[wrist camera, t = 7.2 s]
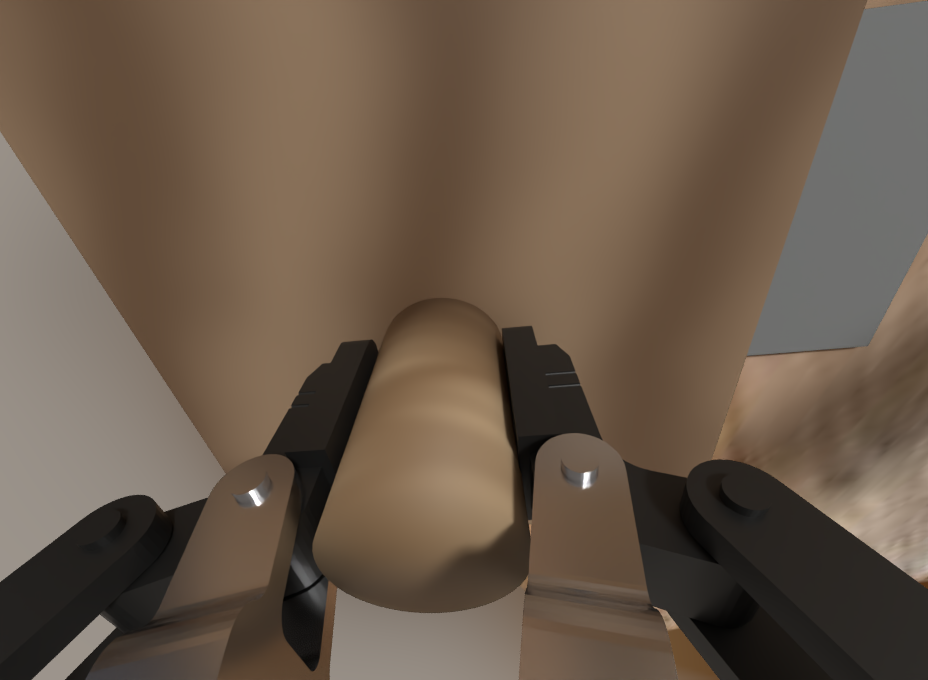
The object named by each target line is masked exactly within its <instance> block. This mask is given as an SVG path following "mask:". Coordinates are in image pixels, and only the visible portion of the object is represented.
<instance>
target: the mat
mask: <svg viewBox="0 0 928 680" xmlns="http://www.w3.org/2000/svg"><path fill="white" fill-rule="evenodd" d="M927 234H928V1H922V2H915V3H908V4H900V5H893V6H886V7H879V8H871V9H864V11H863V14H862V17H861V20H860V23H859V26H858V29H857V32H856V35H855V38H854V41H853V44H852V47H851V50H850V53H849V55H848V58H847V61H846V64H845V67H844V70H843V73H842V76H841V79H840V82H839V85H838V88H837V91H836V94H835V97H834V100H833V103H832V106H831V109H830V112H829V114H828V117H827V120H826V123H825V126H824V129H823V132H822V135H821V138H820V141H819V144H818V147H817V150H816V153H815V156H814V159H813V162H812V165H811V168H810V170H809V173H808V176H807V179H806V182H805V185H804V188H803V191H802V194H801V197H800V200H799V203H798V206H797V209H796V212H795V215H794V218H793V221H792V224H791V227H790V229H789V232H788V235H787V238H786V241H785V244H784V247H783V250H782V253H781V256H780V259H779V262H778V265H777V268H776V271H775V274H774V277H773V280H772V283H771V285H770V288H769V291H768V294H767V297H766V300H765V303H764V306H763V309H762V312H761V315H760V318H759V321H758V324H757V327H756V330H755V333H754V336H753V339H752V342H751V344H750V347H749V350H748V353H747V356H750V355H762V354H774V353H787V352H799V351H812V350H824V349H836V348H849V347H861V346H868V345H869V343H870V341H871V339H872V338H873V336H874V334H875V332H876V330H877V328H878V326H879V324H880V322H881V321H882V319H883V317H884V315H885V313H886V311H887V309H888V307H889V305H890V304H891V302H892V300H893V298H894V296H895V294H896V292H897V290H898V288H899V287H900V285H901V283H902V281H903V279H904V277H905V275H906V273H907V271H908V270H909V268H910V266H911V264H912V262H913V260H914V258H915V256H916V254H917V253H918V251H919V249H920V247H921V245H922V243H923V241H924V239H925V237H926V236H927Z"/></svg>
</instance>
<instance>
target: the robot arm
mask: <svg viewBox="0 0 928 680" xmlns="http://www.w3.org/2000/svg"><path fill="white" fill-rule="evenodd" d="M502 343H503V352H504V359H505V367H506V374H507V381H508V389H509V396H510V404H511V411H512V418H513V426H514V433H515V441H516V448H517V455H518V463H519V469H520V472H521V474H522V480H523V488H524V495H525V502H526V509H527V516H528V520H532V525H531V541H530V558H529V574H528V585H527V588H526V592H525V600H524V610H523V624H522V640H521V654H520V669H519V680H678V677H677V672H676V667H675V662H674V657H673V652H672V648H671V643H670V639H669V636H668V632H667V629H666V625H665V623H664V620H663V618H662V616H661V614H660V612H659V611H658V610H657V609H655V608H654V607H657V608H660V609H663V610H666V611H667V612H668V614H669V615H670V616H671V618H672V619H673V620H674V621H675V623H676V624H677V625H678V627H679V628H680V629H681V630H682V632H683V633H684V634H685V636H686V637H687V638H688V639H689V641H690V642H691V643H692V645H693V646H694V647H695V648H696V650H697V651H698V652H699V653H700V655H701V656H702V657H703V658H704V660H705V661H706V662H707V664H708V665H709V666H710V668H711V669H712V670H713V671H714V673H715V674H716V675H717V677H718V678H719V679H720V680H928V589H927V588H925V587H924V586H923V585H921V584H920V583H918V582H917V581H916V580H914V579H913V578H912V577H910V576H909V575H908V574H906V573H905V572H903V571H902V570H901V569H899V568H898V567H897V566H895V565H894V564H892V563H891V562H890V561H888V560H887V559H886V558H884V557H883V556H881V555H880V554H879V553H877V552H876V551H875V550H873V549H872V548H870V547H869V546H868V545H866V544H865V543H864V542H862V541H861V540H859V539H858V538H857V537H855V536H854V535H853V534H851V533H850V532H848V531H847V530H846V529H844V528H843V527H842V526H840V525H839V524H837V523H836V522H835V521H833V520H832V519H831V518H829V517H828V516H826V515H825V514H824V513H822V512H821V511H820V510H818V509H817V508H815V507H814V506H813V505H811V504H810V503H809V502H807V501H806V500H805V499H803V498H802V497H800V496H799V495H798V494H796V493H795V492H794V491H792V490H791V489H789V488H788V487H787V486H785V485H784V484H783V483H781V482H780V481H778V480H777V479H775V478H774V477H772V476H771V475H769V474H768V473H766V472H764V471H762V470H760V469H758V468H755V467H753V466H750V465H747V464H744V463H741V462H736V461H731V460H710V461H706V462H703V463H700V464H698V465H697V466H695V467H694V468H693V469H692V470H691V471H690V473H689V475H688V477H687V478H686V477H681V476H676V475H671V474H666V473H661V472H656V471H651V470H647V469H643V468H640V467H638V466H635V465H633V464H630V463H628V462H626V461H625V460H623V459H622V458H621V456H620V455H619V454H618V452H617V451H616V450H615V449H614V448H613V447H612V446H610V445H609V444H608V443H606V442H604V441H603V439H602V437H601V435H600V433H599V430H598V427H597V425H596V422H595V420H594V417H593V415H592V412H591V409H590V407H589V404H588V402H587V399H586V397H585V394H584V391H583V389H582V386H580V381H579V379H578V376H577V373H575V368H574V366H573V363H572V361H571V358H570V356H569V355H568V354H567V353H566V352H565V351H564V350H562V349H561V348H560V347H559V346H558V345H557V344H549V345H537V342H536V338H535V335H534V331H533V327H532V326H520V327H509V328H502ZM378 354H379V352H378V349H377V346H376V343H375V342H374V340H360V341H348V342H342V343H341V344H340V346H339V348H338V350H337V352H336V353H335V355H334V357H333V359H332V361H331V363H323V364H322V365H320V366H319V367H318V368H317V369H316V370H315V371H314V372H312V373H311V374H310V375H309V376H308V377H307V378H306V380H305V382H304V383H303V385H302V387H301V389H300V390H299V392H298V393H299V395H297V396H296V397H295V399H294V401H293V403H292V404H291V408H289V409H288V411H287V413H286V415H285V416H284V418H283V420H282V422H281V423H280V425H279V427H278V429H277V430H276V432H275V434H274V436H273V437H272V439H271V441H270V443H269V444H268V446H267V448H266V450H265V451H264V453H263V455H261V456H258V457H254V458H252V459H249V460H247V461H245V462H243V463H241V464H239V465H238V466H236V467H235V468H233V469H232V470H230V471H229V472H228V473H227V474H226V475H224V476H223V477H222V478H221V479H220V480H219V482H218V483H217V484H216V485H215V487H214V488H213V489H212V491H211V493H210V495H209V497H208V498H205V499H202V500H199V501H196V502H193V503H190V504H187V505H184V506H181V507H178V508H175V509H172V510H169V511H166V512H163V510H162V509H161V508H160V507H159V506H158V505H157V503H156V502H155V501H154V500H153V499H152V498H150V497H149V496H145V495H132V496H127V497H124V498H120V499H118V500H115V501H112V502H110V503H108V504H106V505H104V506H102V507H100V508H98V509H97V510H95V511H94V512H92V513H90V514H89V515H87V516H86V517H85V518H83V519H82V520H81V521H79V522H78V523H77V524H75V525H74V526H73V527H71V528H70V529H69V530H67V531H66V532H65V533H64V534H62V535H61V536H60V537H58V538H57V539H56V540H55V541H53V542H52V543H51V544H49V545H48V546H47V547H45V548H44V549H43V550H41V551H40V552H39V553H38V554H36V555H35V556H34V557H32V558H31V559H30V560H29V561H27V562H26V563H25V564H23V565H22V566H21V567H19V568H18V569H17V570H15V571H14V572H13V573H11V574H10V575H9V576H8V577H6V578H5V579H4V580H2V581H1V582H0V680H32V679H33V678H34V677H35V676H36V675H37V674H38V673H39V672H40V671H41V670H42V669H43V668H44V667H45V666H46V665H47V664H48V663H49V662H50V661H51V660H52V659H53V658H54V657H55V656H56V655H58V654H59V653H60V652H61V651H62V650H63V649H64V648H65V647H66V646H67V645H68V644H69V643H70V642H71V641H72V640H73V639H74V638H75V637H76V636H77V635H78V634H79V633H81V631H83V630H84V629H85V628H86V627H87V626H88V625H89V624H90V623H91V622H92V621H93V620H94V619H95V618H96V617H97V616H98V615H99V614H100V615H101V616H103V617H104V618H105V619H106V620H108V621H109V622H110V623H112V624H113V625H114V626H116V627H117V628H116V629H115V630H114V631H113V632H112V633H111V634H110V635H109V636H108V637H107V638H106V639H105V640H104V641H103V642H102V643H101V644H100V645H99V646H98V647H97V648H96V649H95V650H94V651H93V652H92V653H91V654H90V655H89V656H88V657H87V658H86V659H85V660H84V661H83V662H82V663H81V664H80V665H79V666H78V667H77V668H76V669H75V670H74V671H73V672H72V673H71V674H70V675H69V676H68V677H67V678H66V679H65V680H330V675H329V673H330V657H331V647H332V637H333V636H332V635H333V626H334V615H335V604H336V592H337V587H336V586H335V585H334V584H333V583H331V582H330V581H329V580H328V579H327V578H326V577H325V576H324V575H323V574H322V572H321V571H320V570H319V568H318V567H317V564H316V562H315V560H314V556H313V552H312V549H313V540H314V537H315V533H316V531H317V528H318V525H319V522H320V519H321V516H322V514H323V511H324V508H325V505H326V502H327V499H328V496H329V494H330V491H331V488H332V485H333V482H334V479H335V476H336V474H337V471H338V468H339V465H340V462H341V459H342V456H343V454H344V451H345V448H346V445H347V442H348V439H349V436H350V434H351V431H352V428H353V425H354V422H355V419H356V416H357V414H358V411H359V408H360V405H361V402H362V399H363V397H364V394H365V391H366V388H367V385H368V382H369V379H370V377H371V374H372V371H373V368H374V365H375V362H376V359H377V357H378ZM653 606H654V607H653Z"/></svg>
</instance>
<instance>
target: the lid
mask: <svg viewBox="0 0 928 680" xmlns="http://www.w3.org/2000/svg"><path fill="white" fill-rule="evenodd" d="M866 2H867V0H0V131H1V133H2V134H3V136H4V138H5V139H6V141H7V142H8V144H9V145H10V147H11V148H12V150H13V151H14V153H15V154H16V156H17V157H18V159H19V160H20V162H21V164H22V165H23V167H24V168H25V169H26V171H27V173H28V174H29V176H30V177H31V179H32V180H33V182H34V183H35V185H36V186H37V188H38V189H39V191H40V192H41V194H42V195H43V197H44V198H45V200H46V201H47V203H48V204H49V206H50V207H51V209H52V211H53V212H54V214H55V215H56V217H57V218H58V220H59V221H60V222H61V224H62V226H63V227H64V229H65V230H66V232H67V233H68V235H69V236H70V238H71V239H72V241H73V242H74V244H75V245H76V247H77V248H78V250H79V252H80V253H81V254H82V256H83V258H84V259H85V261H86V262H87V264H88V265H89V267H90V268H91V269H92V271H93V273H94V274H95V276H96V277H97V279H98V280H99V282H100V283H101V285H102V286H103V288H104V289H105V291H106V292H107V294H108V295H109V297H110V298H111V300H112V301H113V303H114V305H115V306H116V308H117V309H118V311H119V312H120V314H121V315H122V317H123V318H124V319H125V321H126V323H127V324H128V326H129V327H130V329H131V330H132V332H133V333H134V335H135V336H136V338H137V340H138V341H139V343H140V344H141V346H142V347H143V349H144V350H145V352H146V353H147V355H148V356H149V358H150V359H151V361H152V362H153V364H154V365H155V367H156V368H157V370H158V371H159V373H160V374H161V376H162V377H163V379H164V380H165V382H166V383H167V385H168V387H169V388H170V389H171V391H172V393H173V394H174V396H175V397H176V399H177V400H178V402H179V403H180V405H181V406H182V408H183V409H184V411H185V412H186V414H187V415H188V417H189V418H190V420H191V421H192V423H193V425H194V426H195V428H196V429H197V431H198V432H199V433H200V435H201V437H202V438H203V440H204V441H205V443H206V444H207V446H208V447H209V449H210V450H211V452H212V453H213V455H214V456H215V458H216V459H217V461H218V462H219V464H220V465H221V467H222V468H223V470H224V472H225V473H226V474H227V473H228V472H229V471H230V470H232V469H233V468H235V467H236V466H238V465H239V464H241V463H243V462H245V461H247V460H249V459H252V458H254V457H258V456H261V455H263V453H264V451H265V450H266V448H267V446H268V444H269V443H270V441H271V439H272V437H273V436H274V434H275V432H276V430H277V429H278V427H279V425H280V423H281V422H282V420H283V418H284V416H285V415H286V413H287V411H288V409H289V408H291V404H292V403H293V401H294V399H295V397H296V396H297V395H299V393H298V392H299V390H300V389H301V387H302V385H303V383H304V382H305V380H306V378H307V377H308V376H309V375H310V374H311V373H312V372H314V371H315V370H316V369H317V368H318V367H319V366H320V365H322V364H323V363H331V361H332V359H333V357H334V355H335V353H336V352H337V350H338V348H339V346H340V344H341V343H342V342H348V341H360V340H374V342H375V343H376V346H377V349H378V352H379V354H378V357H377V359H376V362H375V365H374V368H373V371H372V374H371V377H370V379H369V382H368V385H367V388H366V391H365V394H364V397H363V399H362V402H361V405H360V408H359V411H358V414H357V416H356V419H355V422H354V425H353V428H352V431H351V434H350V436H349V439H348V442H347V445H346V448H345V451H344V454H343V456H342V459H341V462H340V465H339V468H338V471H337V474H336V476H335V479H334V482H333V485H332V488H331V491H330V494H329V496H328V499H327V502H326V505H325V508H324V511H323V514H322V516H321V519H320V522H319V525H318V528H317V531H316V533H315V537H314V540H313V549H312V552H313V556H314V560H315V562H316V564H317V567H318V568H319V570H320V571H321V572H322V574H323V575H324V576H325V577H326V578H327V579H328V580H329V581H330V582H331V583H333V584H334V585H335V586H336V587H338V588H339V589H341V590H342V591H344V592H346V593H347V594H350V595H351V596H353V597H355V598H358V599H360V600H362V601H365V602H368V603H371V604H374V605H377V606H381V607H385V608H389V609H394V610H400V611H408V612H419V613H442V612H443V613H444V612H455V611H462V610H467V609H471V608H476V607H480V606H483V605H486V604H489V603H491V602H494V601H496V600H498V599H500V598H502V597H504V596H506V595H508V594H509V593H511V592H512V591H513V590H515V589H516V588H517V587H518V586H520V585H521V583H522V582H523V581H524V580H525V579H526V577H527V576H528V574H529V558H530V541H531V538H530V531H529V524H532V520H528V516H527V509H526V502H525V495H524V488H523V480H522V474H521V472H520V469H519V463H518V455H517V448H516V441H515V433H514V426H513V418H512V411H511V404H510V396H509V389H508V381H507V374H506V367H505V359H504V352H503V343H502V328H509V327H520V326H532V327H533V331H534V335H535V338H536V342H537V345H549V344H557V345H558V346H559V347H560V348H561V349H562V350H564V351H565V352H566V353H567V354H568V355H569V356H570V358H571V361H572V363H573V366H574V368H575V373H577V376H578V379H579V381H580V386H582V389H583V391H584V394H585V397H586V399H587V402H588V404H589V407H590V409H591V412H592V415H593V417H594V420H595V422H596V425H597V427H598V430H599V433H600V435H601V437H602V439H603V441H604V442H606V443H608V444H609V445H610V446H612V447H613V448H614V449H615V450H616V451H617V452H618V454H619V455H620V456H621V458H622V459H623V460H625V461H626V462H628V463H630V464H633V465H635V466H638V467H640V468H643V469H647V470H651V471H656V472H661V473H666V474H671V475H676V476H681V477H686V478H687V477H688V475H689V473H690V471H691V470H692V469H693V468H694V467H695V466H697V465H698V464H700V463H703V462H706V461H710V460H711V459H712V457H713V454H714V451H715V448H716V445H717V442H718V439H719V436H720V433H721V430H722V427H723V424H724V421H725V418H726V415H727V412H728V409H729V406H730V403H731V400H732V398H733V395H734V392H735V389H736V386H737V383H738V380H739V377H740V374H741V371H742V368H743V365H744V362H745V359H746V356H747V353H748V350H749V347H750V344H751V342H752V339H753V336H754V333H755V330H756V327H757V324H758V321H759V318H760V315H761V312H762V309H763V306H764V303H765V300H766V297H767V294H768V291H769V288H770V285H771V283H772V280H773V277H774V274H775V271H776V268H777V265H778V262H779V259H780V256H781V253H782V250H783V247H784V244H785V241H786V238H787V235H788V232H789V229H790V227H791V224H792V221H793V218H794V215H795V212H796V209H797V206H798V203H799V200H800V197H801V194H802V191H803V188H804V185H805V182H806V179H807V176H808V173H809V170H810V168H811V165H812V162H813V159H814V156H815V153H816V150H817V147H818V144H819V141H820V138H821V135H822V132H823V129H824V126H825V123H826V120H827V117H828V114H829V112H830V109H831V106H832V103H833V100H834V97H835V94H836V91H837V88H838V85H839V82H840V79H841V76H842V73H843V70H844V67H845V64H846V61H847V58H848V55H849V53H850V50H851V47H852V44H853V41H854V38H855V35H856V32H857V29H858V26H859V23H860V20H861V17H862V14H863V11H864V8H865V5H866Z"/></svg>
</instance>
